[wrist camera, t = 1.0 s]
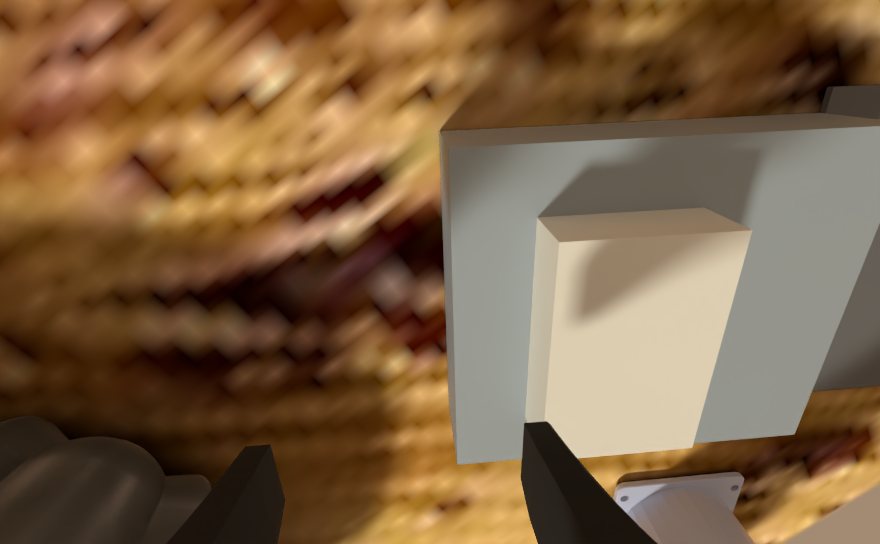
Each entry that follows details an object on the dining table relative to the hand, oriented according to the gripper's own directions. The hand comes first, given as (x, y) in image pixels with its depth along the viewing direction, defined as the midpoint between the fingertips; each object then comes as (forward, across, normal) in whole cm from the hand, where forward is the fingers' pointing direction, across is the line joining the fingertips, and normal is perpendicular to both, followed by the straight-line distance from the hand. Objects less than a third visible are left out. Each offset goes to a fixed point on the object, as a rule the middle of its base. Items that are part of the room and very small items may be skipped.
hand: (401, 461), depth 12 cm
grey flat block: (+10, -10, 0) cm, 14 cm away
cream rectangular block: (+6, -8, 0) cm, 10 cm away
